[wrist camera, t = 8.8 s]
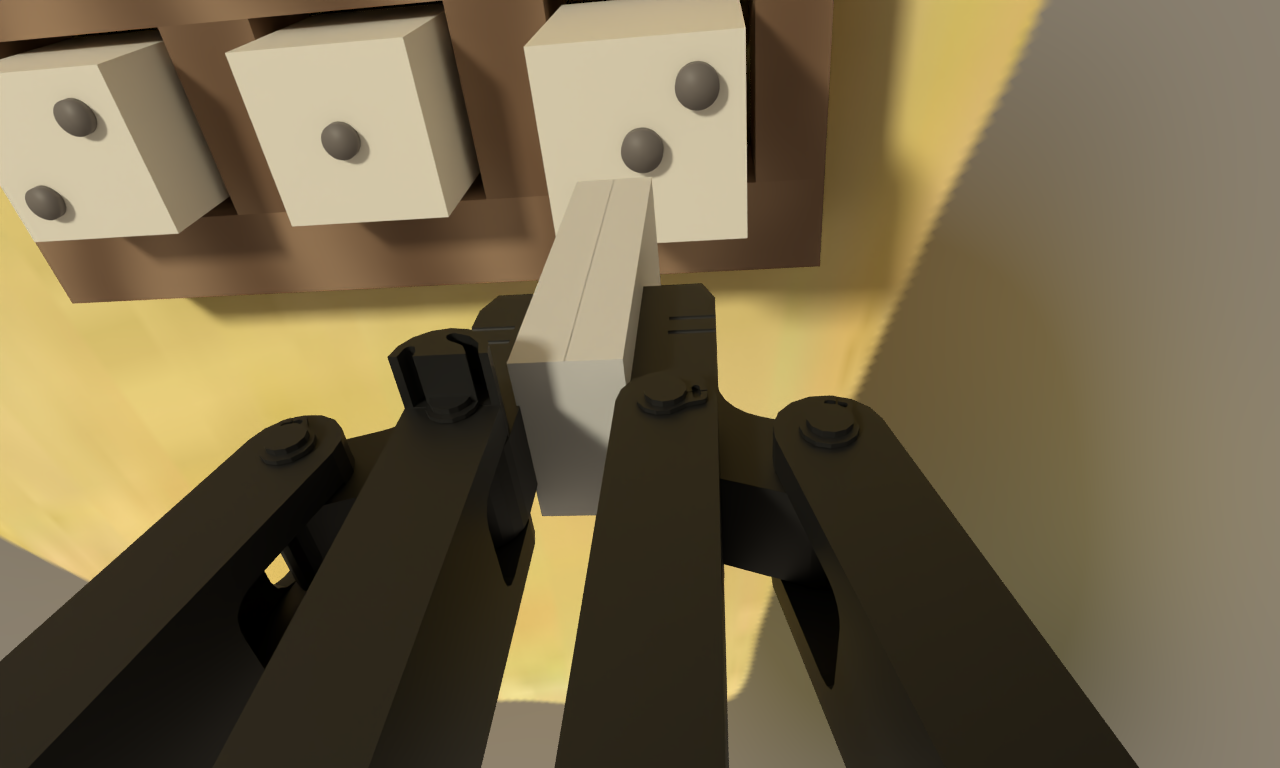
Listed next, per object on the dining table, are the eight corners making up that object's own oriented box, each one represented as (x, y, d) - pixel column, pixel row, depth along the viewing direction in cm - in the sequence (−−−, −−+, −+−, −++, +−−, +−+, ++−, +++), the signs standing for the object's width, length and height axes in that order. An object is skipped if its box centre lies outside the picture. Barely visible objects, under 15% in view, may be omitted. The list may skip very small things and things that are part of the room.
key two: (143, 183, 31) (31, 249, 26) (71, 38, 27) (-74, 81, 22) (265, 174, 30) (175, 241, 25) (206, 25, 27) (90, 66, 22)
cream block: (361, 168, 30) (289, 234, 25) (312, 15, 26) (219, 55, 21) (492, 158, 29) (447, 225, 24) (459, 1, 26) (399, 39, 21)
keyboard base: (133, 259, 34) (72, 303, 30) (-47, -76, 26) (-153, -65, 23) (807, 221, 30) (819, 265, 27) (823, -176, 23) (843, -180, 20)
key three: (585, 178, 26) (556, 257, 21) (561, 4, 23) (521, 49, 18) (739, 168, 26) (748, 247, 21) (737, -12, 22) (745, 30, 17)
